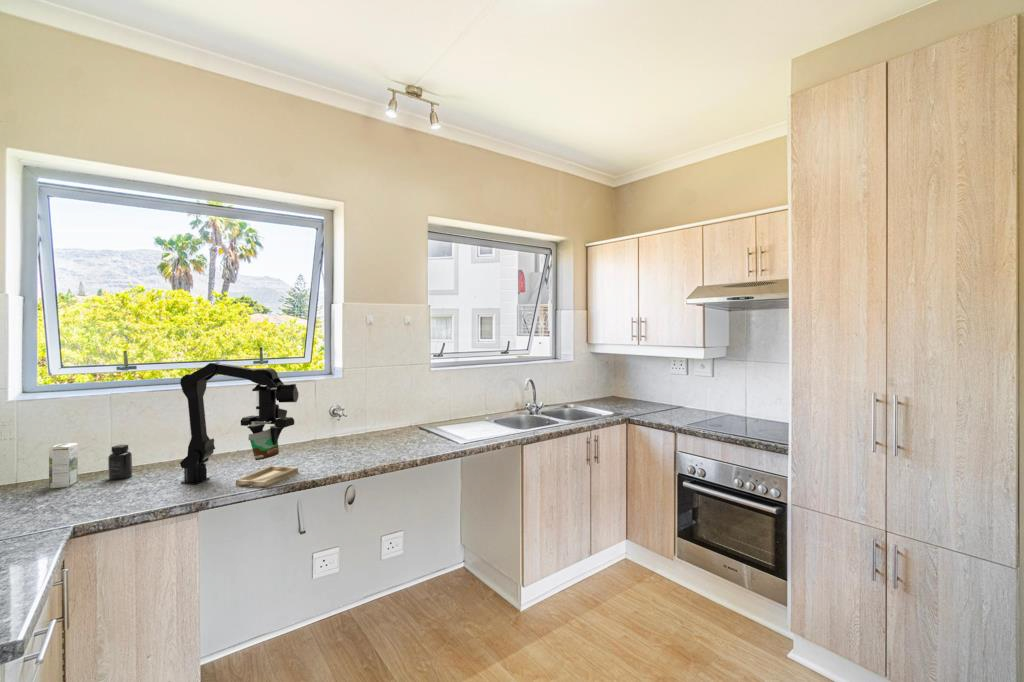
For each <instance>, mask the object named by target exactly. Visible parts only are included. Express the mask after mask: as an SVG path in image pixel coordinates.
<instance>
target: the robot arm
mask: <svg viewBox="0 0 1024 682" xmlns="http://www.w3.org/2000/svg"><path fill="white" fill-rule="evenodd" d="M215 375H221V376H226V377H232V378H233V377H234V378H239V379H245V380H248V381H250V382H252V383H254V384H256V385H255V387H253V388H252V389H251V391H252V392H257V393H258V405H257V406H255V410H258V415H248V416H244V417H242V418H241V420H240V426H242V427H244V426H245V427H247V428H248V429H249V430H250V431H251V434H255V433H258V432H260V431H264V428H265V426H266V425H273V426H274V427H272V428H270V427H269V429H270V430H271V436H272V442H273V445H276V444H277V441H278V442H279V438H280V436H281V433H282V430H283V429H284V428H287V427H291V426H293V425H295V419H294V417H291V416H290V417H289V416H287V414H288V409H287V410H286V409H284V408H280V405H279V404H277V401H278V403H297V402H298V400H299V391H298V388H297V383H291V384H285V383H284V382H283V381H282V380H281V379H280V377H279V376H278V372H277V371H276V370H275V368H274V369H273V368H270V367H269V368H266V367H265V368H262V367H261V368H250V367H243V366H240V365H239V366H238V365H234V364H233V365H232V364H226V363H221V362H218V361H216V362H209V363H207V364H206V365H205V366H203V367H201V368H199V369H197V370H196V371H193V372H191V373H188V374H185V375H183V376H182V377H181V378H180V381H179V383H180V387H181V390H182V393H183V394H184V396H185V397H186V399H187V407H188V415H189V416H188V417H189V427H190V436H191V437H190V440H189V443H188V447H187V455H186V457H184V458H183V459H182V460H181V461H180V462H179V464H180V467H181V469H184V471H183V472H184V473H183V474H184V479H183V480H182V481H180V484H182V485H186V484H187V485H198V484H200V482H201V483H203V482H206V481H208V480H210V479H211V478H210V477H208V476H207V475H208V473H207V471H208V470H207V463H206V462H208V461H209V460H210V458H211V456H212V455H213V454H214V450H216V446H215V439H214V438H210V437H209V436H208V433H207V422H206V414H205V413H206V411H205V403H204V402H205V400H204V396H205V392H206V390H207V384H208V381H210V380H211V379H212V378H213V377H214V376H215ZM184 483H185V484H184ZM197 483H198V484H197Z"/></svg>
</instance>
